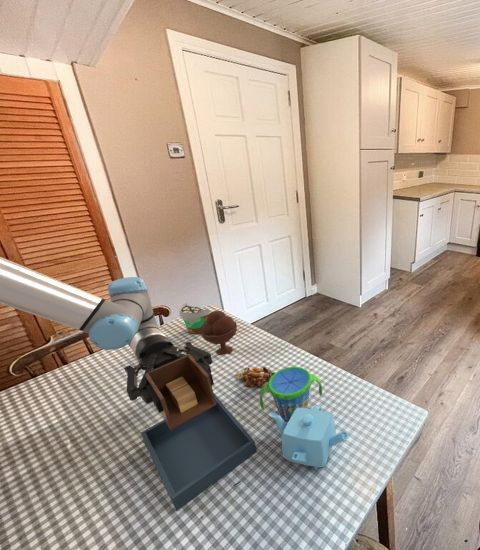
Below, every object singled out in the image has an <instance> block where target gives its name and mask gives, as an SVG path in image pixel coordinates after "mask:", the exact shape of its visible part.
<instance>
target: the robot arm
mask: <svg viewBox="0 0 480 550" xmlns="http://www.w3.org/2000/svg"><path fill="white" fill-rule="evenodd" d="M107 290H108V296H109V297H110V300H109V299H106V298H102V297H100V296H97V295H96V294H93V293H90V292H88V291H86V290H83V289H80V288H79V287H76V286H73V285H72V284H71V285H70V284H68V283H66V282H63V281H61V280H58V279H56V278H54V277H51V276H48V275H46V274H44V273H41V272H39V271H36V270H34V269H31V268H29V267H26V266H24V265H22V264H20V263H16V262H15V261H12V260H9V259H7V258H5V257H2V256H0V304H1V305H4V306H7V307H10V308H13V309H16V310H19V311H22V312H25V313H27V314H31V315H34V316H36V317H40V318H42V319H45V320H48V321H52V322H54V323H57V324H60V325H63V326H66V327H69V328H71V329H74V330H77V331H81V332H83V333H86V334H88V338H89V341H90V342H91V343H92V344H93V345H94V346H95V347H96V348H98V349H101V350H105V351H114V350H119V349H122V348H124V347H125V346H127V345H128V346H129V348H130V350H131V351H132V352H133V353H132V354H133V355H134V356H135V357H136V360H137V361H138V364H136V365H134V366H132V365H127V366H125V367H124V371H125V374H126V393H127V395H128V398H129V401H130V402H131V401H132V402H133V401H136V400H137V399H138V398H141V400H142V401H144V404H146V405H148V404H150V403H153V405H154V407H155V409H156V410H157V412H158V413H159V414H161V413H160V412H162V411H163V408H162V405H161V402H160V399H159V398H158V396H157V395H156V393H155V391H154V390H153V388H152V387H151V385H150V384H148V381H147V379H146V377H145V375H144V374H145V373H147V372H149V371H152V370H154V369H156V368H158V367H161V366H163V365H165V364H168V363H170V362H172V361H175V360H177V359H179V358H182V357H184V356H186V355H189V354H190V355H191V356H192V357H193V359H194V360H195V361H196V362H197V363H198V364H199V365H200V366H201V367H202V368H203V369H204V371H205V372H206V373H207V374H208V375H209V377H210V381H211V385H212V386H214V385H215V382H214V379H213V375H212V368H211V365H212V364H213V357H212V354H211V353H210V352H208V351H206V350H205V349H201V348H200V347H198V346H196V345H193V344H192V342H191V341H187V342H185V343H184V344H185V345H183V346H182V347H179V346H176V345H175V344H174V343H173V342H172V341H171V340H170V339H169V338H168V336H167V335H166V334H165V333H164V332H163V331H162V329H160V327H159V325H158V323H157V319H156V316H155V312H154V309H153V304H152V302H151V298H150V295H149V288H147V285H146V282H145V280H144V279H143V278H141V277H140V276H139V277H138V276H127V277H122V278H119V279H115V280H112V281H111V282H110V283H108V285H107ZM140 371H144V373H143V375H142V377H141V380H140V382H139V384H138V376H139V373H140Z"/></svg>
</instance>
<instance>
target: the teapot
mask: <svg viewBox="0 0 480 550" xmlns="http://www.w3.org/2000/svg"><path fill="white" fill-rule="evenodd" d="M269 416H270V417H271V418H272V419H273V420H274V421H275V422H276V424H277V428H278V432H279V434H280V436H281V438H282V439H281V452H282V456H283V457H284V459H285V460H287V461H289V462H291V463H293V464H299V465H304V466H309V467H313V468H315V469H319V468H323V467H325V466H326V464H327V461H328V459H329V457H330V453H331V451H332V449H333V447H334V446H336V445H338V444H340V443H343V442H345V441H347V440H348V438H349V435H348V432H347V431H346V430H342V431H340V432H338V433H336V432H337V430H336V423H335V419H334V416H333V414H332V413H331V412H327V411H325V410H324V411H323V410H322V407H321V406H320V405H314V406H313V408H309V407H308V408H296V410H295V411H294V413H293V415H292V416H291V418H290V420H289V421H286V420H285V419H283V418H282V417H281V416H280V415H279V413H276V412H270V413H269Z"/></svg>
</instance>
